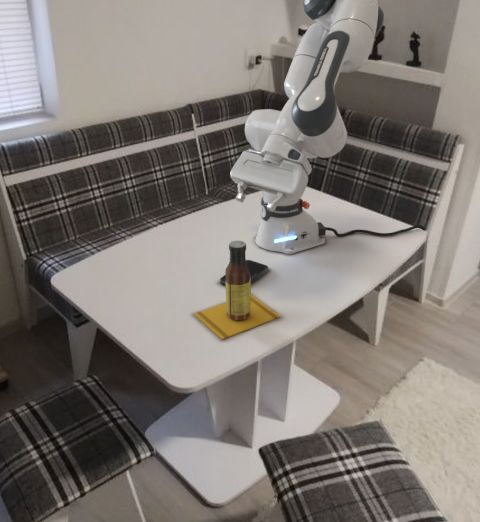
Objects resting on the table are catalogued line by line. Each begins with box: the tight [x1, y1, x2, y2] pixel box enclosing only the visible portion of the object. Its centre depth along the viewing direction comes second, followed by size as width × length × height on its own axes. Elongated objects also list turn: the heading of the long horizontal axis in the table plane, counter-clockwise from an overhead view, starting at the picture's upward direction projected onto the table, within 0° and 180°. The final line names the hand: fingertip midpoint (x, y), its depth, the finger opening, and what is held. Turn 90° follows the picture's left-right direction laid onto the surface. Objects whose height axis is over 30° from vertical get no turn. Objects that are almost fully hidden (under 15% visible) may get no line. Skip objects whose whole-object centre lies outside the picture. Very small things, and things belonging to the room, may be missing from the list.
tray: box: [193, 294, 281, 341], centre depth 135 cm, size 18×13×1 cm
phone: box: [219, 259, 269, 287], centre depth 151 cm, size 8×1×15 cm
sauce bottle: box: [225, 240, 252, 321], centre depth 128 cm, size 7×6×20 cm
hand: (254, 205), depth 129 cm, fingers open, 8 cm apart
